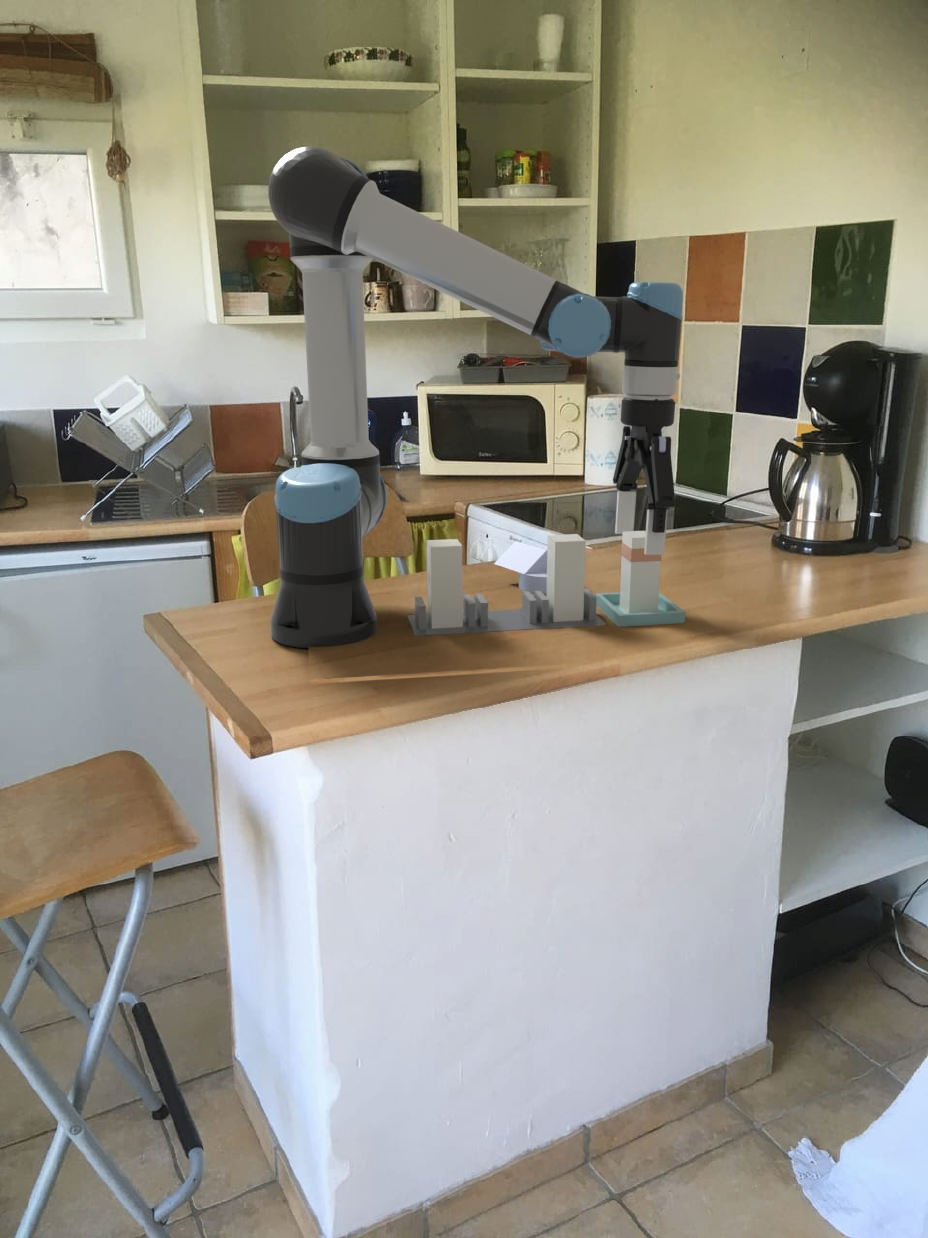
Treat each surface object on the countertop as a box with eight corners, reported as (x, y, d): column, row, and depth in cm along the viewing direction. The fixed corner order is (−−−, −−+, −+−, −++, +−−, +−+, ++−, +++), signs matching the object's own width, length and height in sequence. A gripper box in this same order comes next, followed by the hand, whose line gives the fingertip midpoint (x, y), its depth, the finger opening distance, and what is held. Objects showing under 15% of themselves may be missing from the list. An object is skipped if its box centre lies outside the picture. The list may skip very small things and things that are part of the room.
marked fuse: (628, 617, 151) (632, 538, 147) (619, 608, 155) (622, 531, 152) (658, 615, 152) (662, 536, 148) (647, 607, 156) (651, 530, 152)
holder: (415, 638, 144) (414, 611, 142) (407, 618, 153) (406, 592, 152) (606, 628, 148) (607, 601, 147) (587, 608, 157) (588, 583, 156)
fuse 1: (431, 628, 146) (430, 547, 143) (427, 619, 151) (426, 540, 147) (462, 626, 147) (462, 545, 144) (457, 617, 151) (457, 539, 148)
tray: (618, 629, 147) (619, 615, 147) (594, 606, 159) (595, 593, 158) (684, 625, 149) (685, 612, 148) (656, 603, 160) (657, 590, 160)
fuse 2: (553, 621, 149) (555, 541, 146) (546, 613, 154) (547, 535, 150) (583, 620, 150) (585, 540, 146) (575, 611, 154) (577, 534, 151)
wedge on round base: (493, 583, 173) (540, 600, 162) (493, 544, 171) (541, 559, 160) (535, 575, 177) (584, 591, 167) (536, 537, 175) (585, 551, 165)
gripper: (708, 405, 133) (694, 563, 139) (644, 389, 157) (635, 525, 163) (653, 405, 132) (641, 564, 138) (597, 389, 155) (590, 526, 162)
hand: (638, 543), depth 150 cm, fingers open, 13 cm apart
